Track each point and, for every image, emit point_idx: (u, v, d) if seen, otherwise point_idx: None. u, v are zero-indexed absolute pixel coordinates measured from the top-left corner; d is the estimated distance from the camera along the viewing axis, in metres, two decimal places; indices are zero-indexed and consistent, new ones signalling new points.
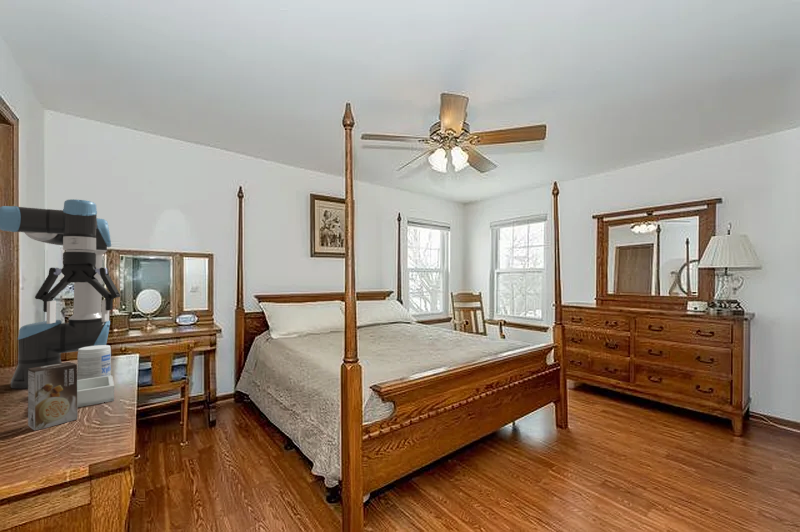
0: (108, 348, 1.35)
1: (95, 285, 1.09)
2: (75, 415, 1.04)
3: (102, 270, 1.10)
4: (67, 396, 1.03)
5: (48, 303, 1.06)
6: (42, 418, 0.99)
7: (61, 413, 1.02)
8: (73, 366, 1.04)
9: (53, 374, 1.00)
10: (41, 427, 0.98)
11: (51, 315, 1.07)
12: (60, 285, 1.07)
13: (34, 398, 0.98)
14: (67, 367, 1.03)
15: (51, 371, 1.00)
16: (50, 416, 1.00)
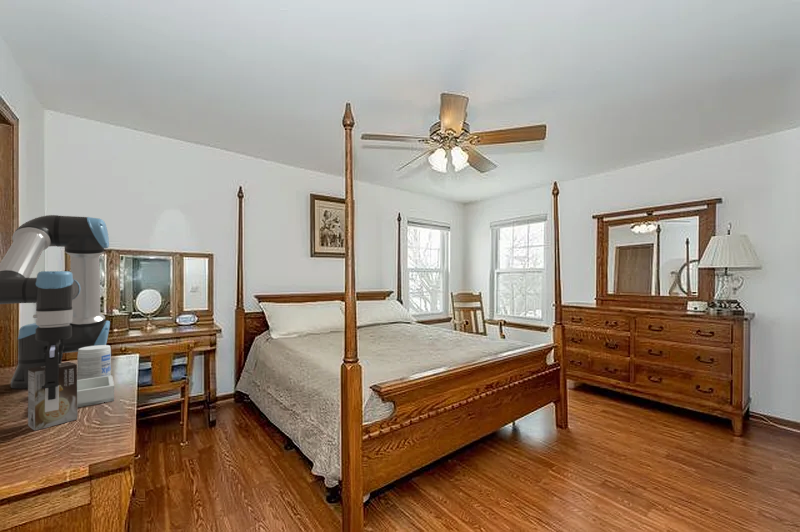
0: (108, 348, 1.35)
1: None
2: (75, 415, 1.04)
3: (45, 353, 0.97)
4: (67, 396, 1.03)
5: None
6: (42, 418, 0.99)
7: (61, 413, 1.02)
8: (73, 366, 1.04)
9: None
10: (41, 427, 0.98)
11: None
12: None
13: (34, 397, 0.98)
14: (67, 367, 1.03)
15: None
16: (50, 416, 1.00)
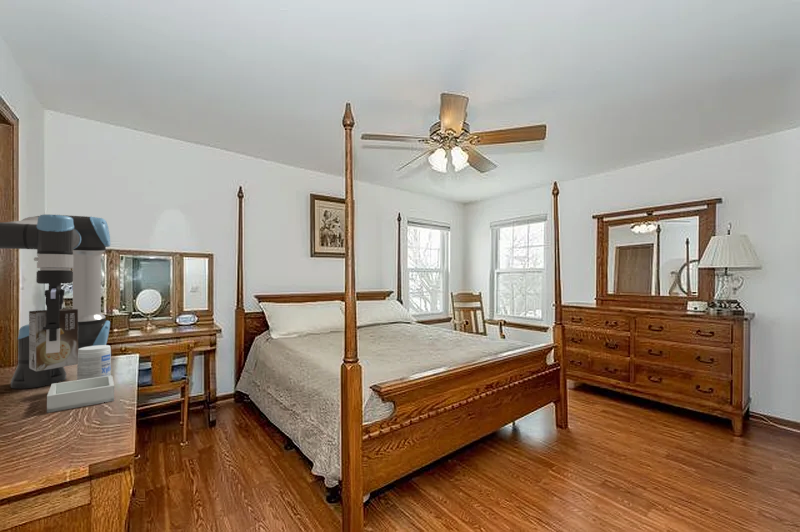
0: (108, 348, 1.35)
1: None
2: (76, 360, 1.05)
3: (46, 294, 0.98)
4: (68, 340, 1.03)
5: None
6: (43, 360, 0.99)
7: (62, 356, 1.02)
8: (74, 311, 1.04)
9: None
10: (42, 368, 0.99)
11: None
12: None
13: (35, 339, 0.98)
14: (68, 311, 1.03)
15: None
16: (51, 358, 1.00)
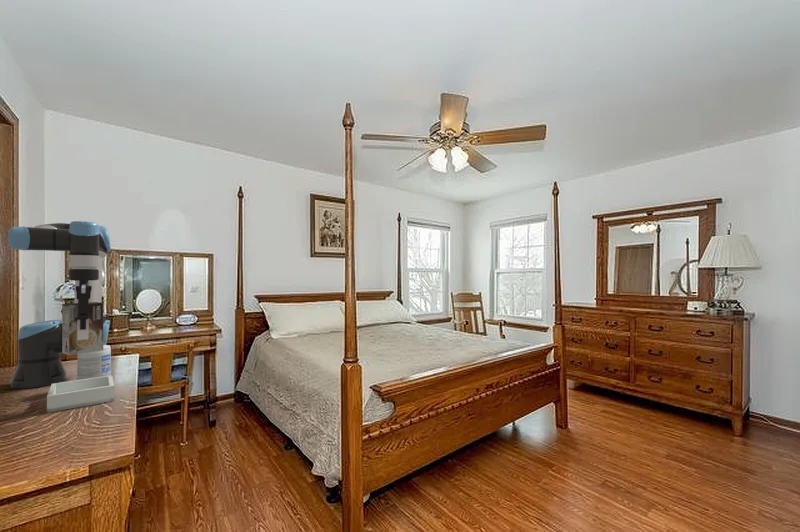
0: (108, 348, 1.35)
1: None
2: (101, 346, 1.21)
3: (78, 289, 1.14)
4: (95, 329, 1.20)
5: None
6: (75, 345, 1.16)
7: (90, 343, 1.19)
8: (100, 304, 1.21)
9: None
10: (74, 353, 1.15)
11: None
12: None
13: (68, 327, 1.15)
14: (95, 304, 1.20)
15: None
16: (81, 344, 1.17)
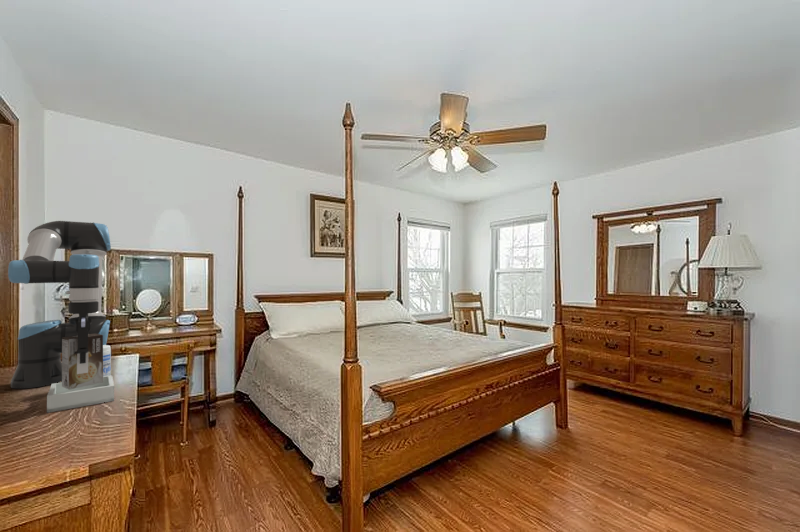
0: (108, 348, 1.35)
1: None
2: (101, 378, 1.21)
3: (77, 323, 1.14)
4: (95, 362, 1.20)
5: None
6: (74, 379, 1.15)
7: (90, 376, 1.19)
8: (100, 336, 1.21)
9: None
10: (73, 387, 1.15)
11: None
12: None
13: (68, 361, 1.14)
14: (95, 337, 1.20)
15: None
16: (81, 378, 1.17)
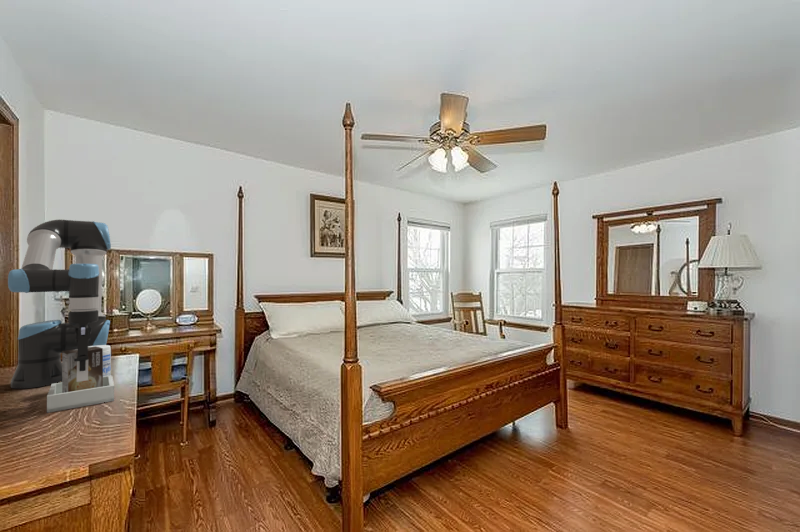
0: (108, 348, 1.35)
1: None
2: None
3: (77, 331, 1.14)
4: (94, 375, 1.20)
5: None
6: None
7: None
8: (99, 350, 1.21)
9: None
10: None
11: None
12: None
13: (67, 375, 1.15)
14: (94, 350, 1.20)
15: None
16: None
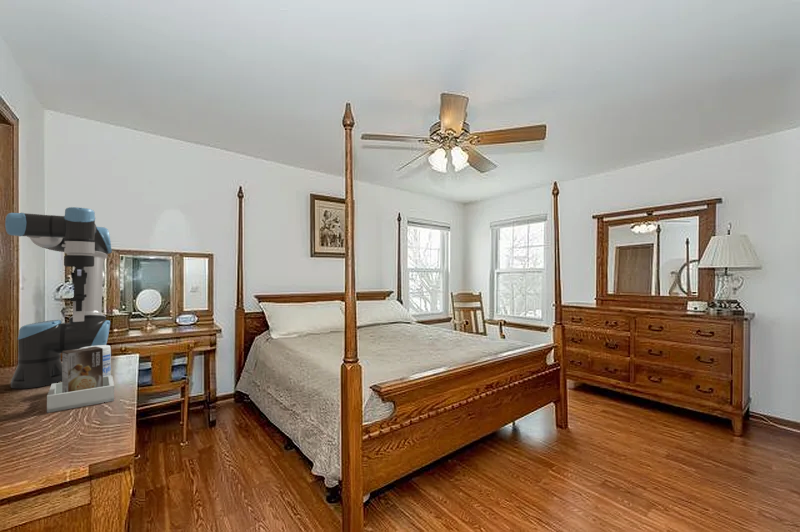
0: (108, 348, 1.35)
1: None
2: None
3: (74, 272, 1.14)
4: (94, 375, 1.20)
5: None
6: None
7: None
8: (99, 349, 1.21)
9: (83, 356, 1.17)
10: None
11: None
12: None
13: (67, 375, 1.15)
14: (94, 350, 1.20)
15: (81, 353, 1.17)
16: None
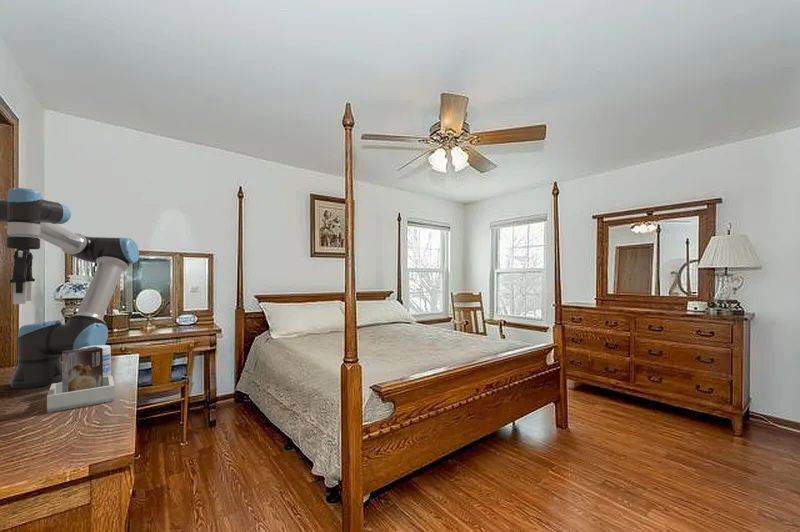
0: (108, 348, 1.35)
1: None
2: None
3: None
4: (94, 375, 1.20)
5: None
6: None
7: None
8: (99, 349, 1.21)
9: (83, 356, 1.17)
10: None
11: None
12: None
13: (67, 375, 1.15)
14: (94, 350, 1.20)
15: (81, 353, 1.17)
16: None
